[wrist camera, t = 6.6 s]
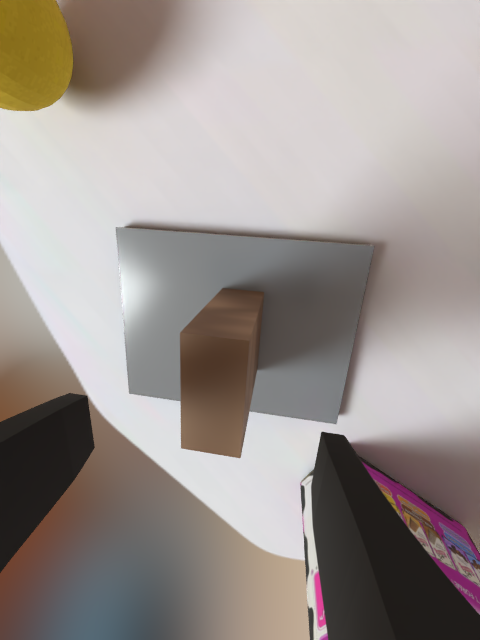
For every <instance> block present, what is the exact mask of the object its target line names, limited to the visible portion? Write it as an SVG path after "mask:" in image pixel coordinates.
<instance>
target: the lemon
mask: <svg viewBox="0 0 480 640" xmlns="http://www.w3.org/2000/svg"><path fill="white" fill-rule="evenodd" d="M72 70H73V52H72V43H71V39H70V35H69V31H68V28H67V25H66V22H65V20H64V17H63V15H62V13H61V11H60V8H59V6H58V4H57V2H56V0H0V108H3V109H7V110H14V111H35V110H39V109H42V108H45V107H48V106H50V105H52V104H53V103H55V102H56V101H57V100H58V99H60V98H61V97H62V95H63V94H64V92H65V91H66V89H67V88H68V85H69V82H70V80H71V77H72Z"/></svg>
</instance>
